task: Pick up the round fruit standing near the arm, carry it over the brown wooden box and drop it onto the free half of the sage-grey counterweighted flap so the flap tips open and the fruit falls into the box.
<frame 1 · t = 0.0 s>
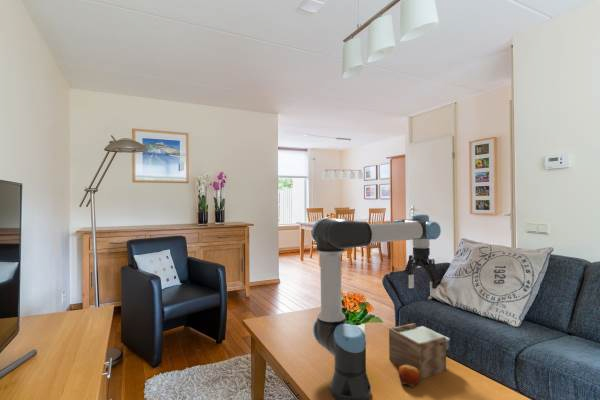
hand: (421, 291, 154), 28 cm above the table, fingers open, 13 cm apart
trapdoor: (421, 341, 141), point 10 cm above the table, hinge at 0.0°
fruit: (409, 383, 127), on the table
brown wooden box: (425, 362, 142), on the table
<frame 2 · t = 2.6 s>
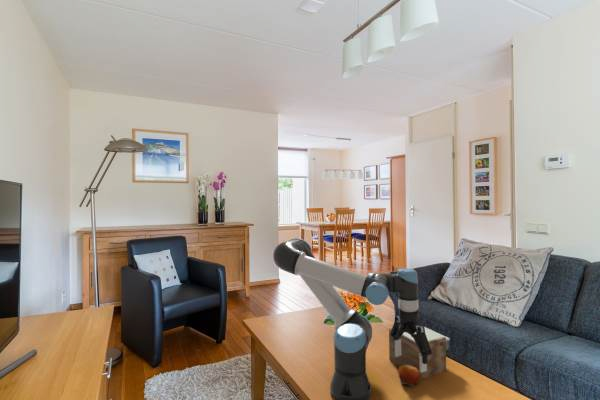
hand: (410, 363, 127), 8 cm above the table, fingers open, 13 cm apart
nothing on the table moved.
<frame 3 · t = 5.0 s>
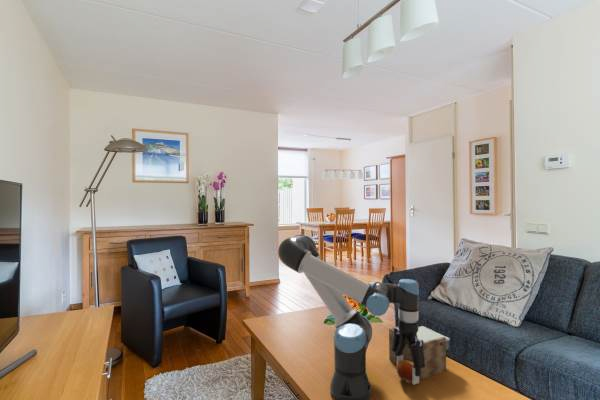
hand: (407, 377, 127), 2 cm above the table, fingers closed on fruit, 8 cm apart
fruit: (407, 378, 127), point 2 cm above the table, touching gripper
everything else where it was.
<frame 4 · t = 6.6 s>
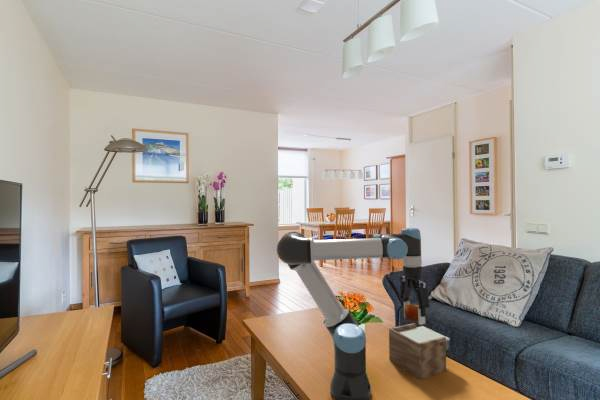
hand: (414, 320, 134), 22 cm above the table, fingers closed on fruit, 8 cm apart
fruit: (414, 321, 134), point 21 cm above the table, touching gripper
everything else where it was.
when the fingers open (15 cm above the table, at t = 8.5 s): fruit drops 11 cm, point 4 cm above the table.
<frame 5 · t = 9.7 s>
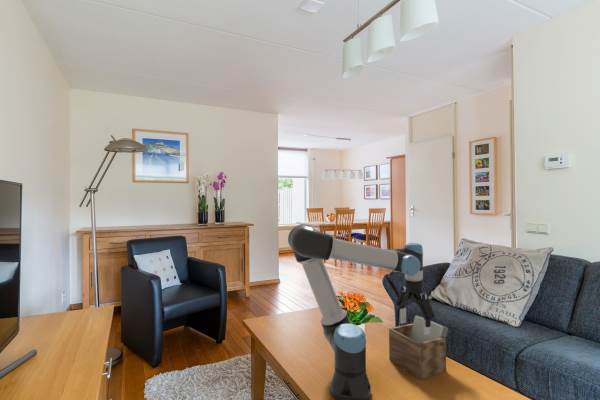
hand: (414, 328, 140), 16 cm above the table, fingers open, 13 cm apart
trapdoor: (426, 341, 143), point 9 cm above the table, hinge at -69.7°
fruit: (414, 353, 143), point 4 cm above the table
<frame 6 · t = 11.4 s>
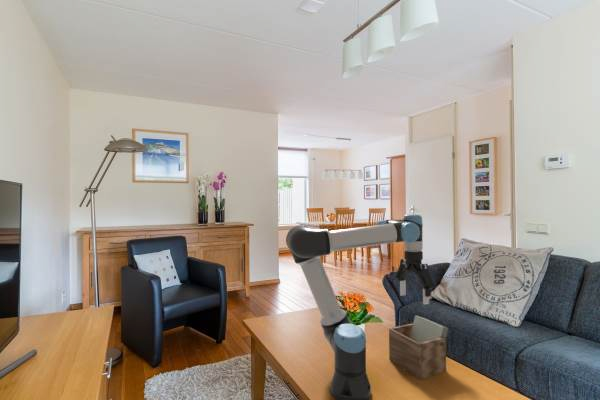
hand: (414, 299, 140), 29 cm above the table, fingers open, 13 cm apart
nothing on the table moved.
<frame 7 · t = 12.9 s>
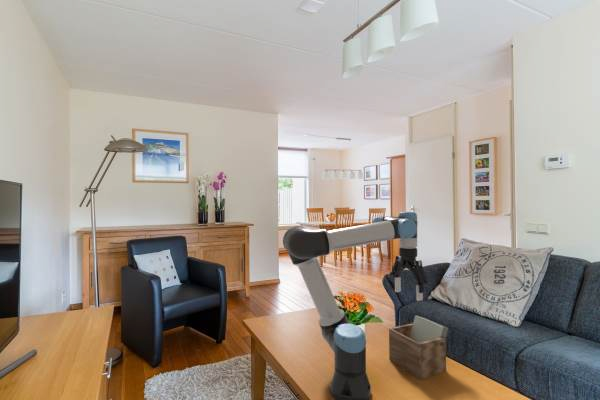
hand: (408, 295, 141), 30 cm above the table, fingers open, 13 cm apart
trapdoor: (426, 341, 143), point 9 cm above the table, hinge at -69.8°, touching fruit
fruit: (414, 354, 143), point 4 cm above the table, touching trapdoor
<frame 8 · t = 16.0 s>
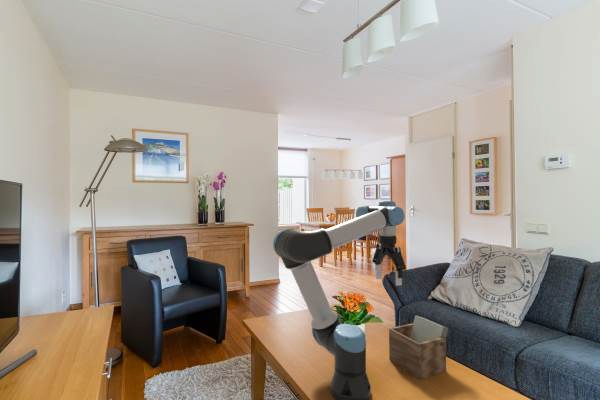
hand: (388, 281, 147), 35 cm above the table, fingers open, 13 cm apart
trapdoor: (426, 341, 143), point 9 cm above the table, hinge at -69.3°, touching fruit
fruit: (415, 354, 142), point 4 cm above the table, touching trapdoor
at the end: fruit point 3.8 cm above the table; fruit inside the target area on the brown wooden box (1.8 cm from its centre), point 3.8 cm above the brown wooden box's base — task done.
